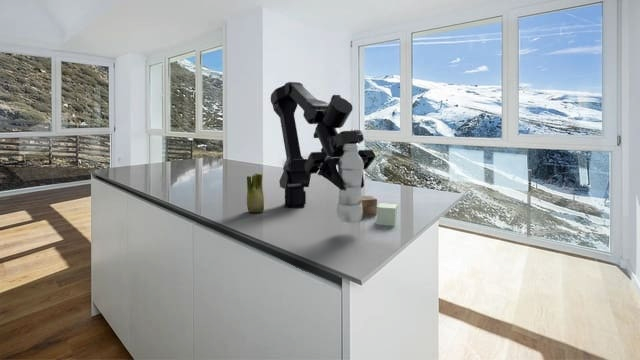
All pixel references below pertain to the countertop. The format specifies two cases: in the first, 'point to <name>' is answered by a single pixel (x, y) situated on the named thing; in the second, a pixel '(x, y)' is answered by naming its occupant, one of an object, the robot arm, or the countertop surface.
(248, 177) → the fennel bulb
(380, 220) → the sage block
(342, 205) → the plastic bottle
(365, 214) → the walnut block
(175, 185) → the countertop surface
